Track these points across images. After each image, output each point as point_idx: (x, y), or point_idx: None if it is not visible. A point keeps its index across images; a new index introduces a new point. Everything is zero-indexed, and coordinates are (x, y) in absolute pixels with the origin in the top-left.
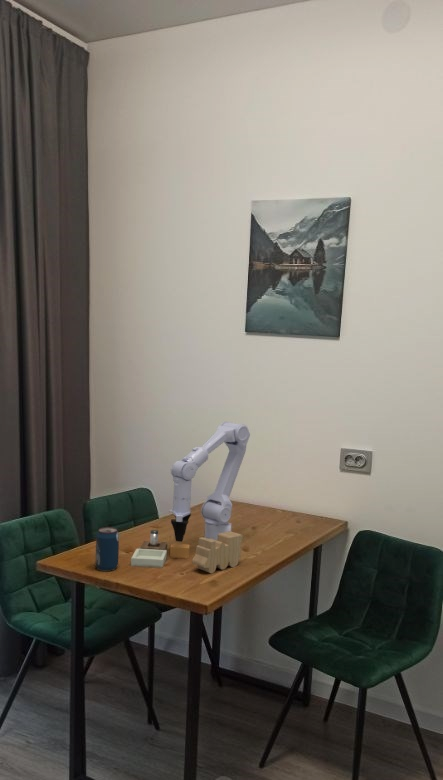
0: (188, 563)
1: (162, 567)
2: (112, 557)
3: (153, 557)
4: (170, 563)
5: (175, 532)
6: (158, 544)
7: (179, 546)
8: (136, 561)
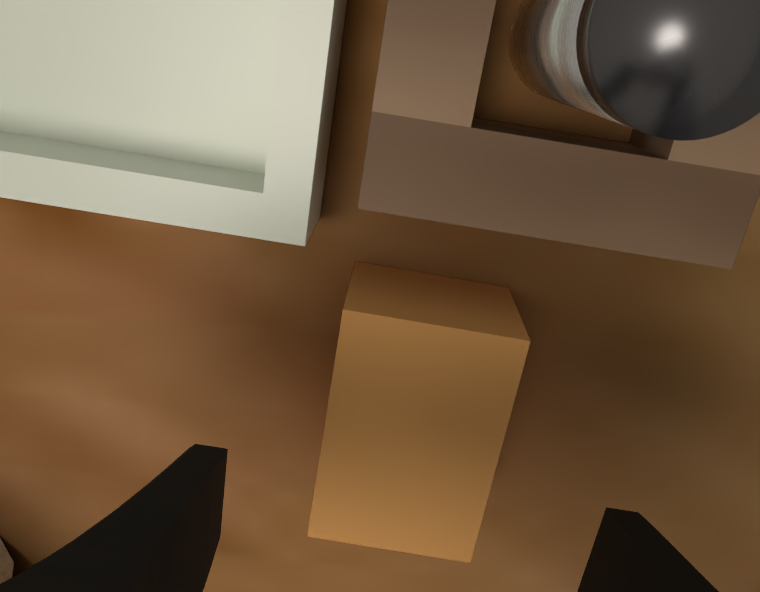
0: (136, 444)
1: None
2: None
3: (233, 30)
4: (105, 254)
5: (86, 549)
6: None
7: (377, 434)
8: None
